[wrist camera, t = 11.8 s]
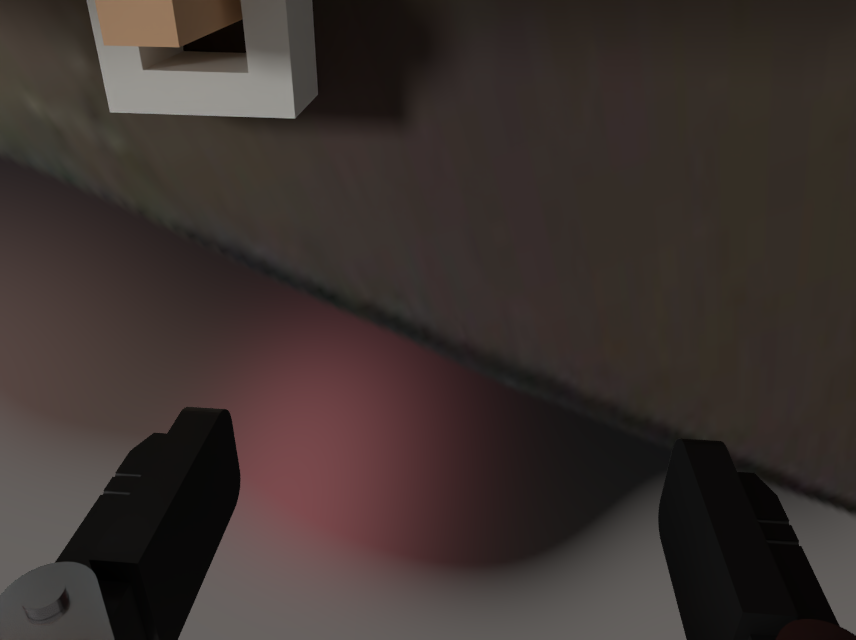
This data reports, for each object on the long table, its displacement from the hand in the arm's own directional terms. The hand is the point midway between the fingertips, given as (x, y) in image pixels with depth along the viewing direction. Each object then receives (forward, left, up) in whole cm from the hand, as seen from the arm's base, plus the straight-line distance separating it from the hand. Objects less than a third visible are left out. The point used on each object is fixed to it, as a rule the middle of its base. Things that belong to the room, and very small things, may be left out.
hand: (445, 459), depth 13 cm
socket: (+13, -4, -28) cm, 31 cm away
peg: (+13, -5, -28) cm, 31 cm away
